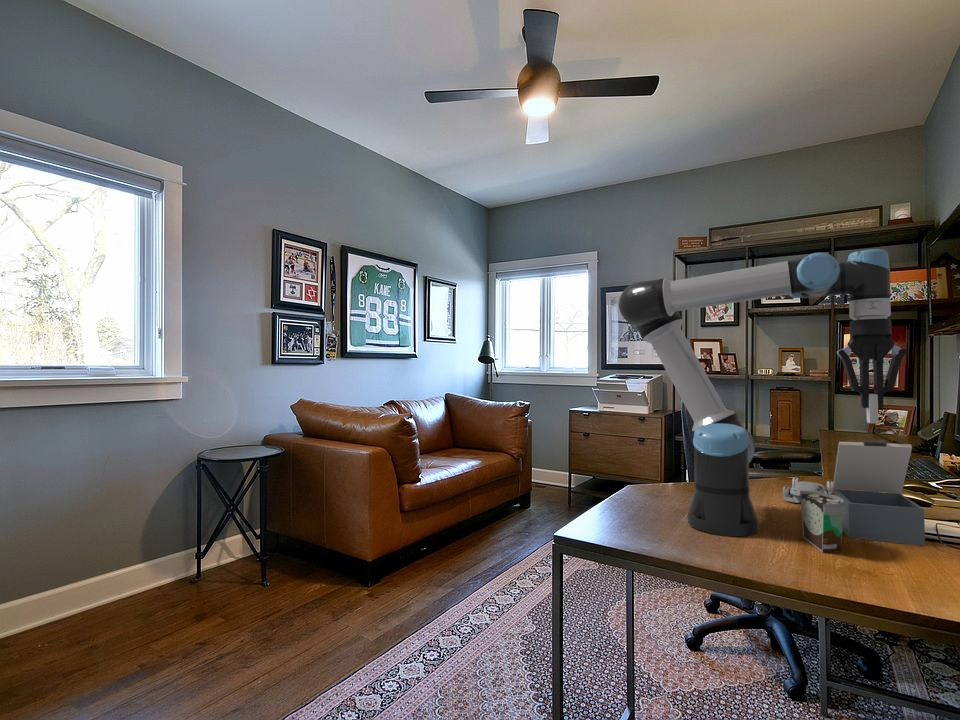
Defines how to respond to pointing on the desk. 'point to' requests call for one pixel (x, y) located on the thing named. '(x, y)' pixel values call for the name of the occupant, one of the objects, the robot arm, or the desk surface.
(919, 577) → the desk surface
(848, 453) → the box lid
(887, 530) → the storage box
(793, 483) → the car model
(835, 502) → the food container
